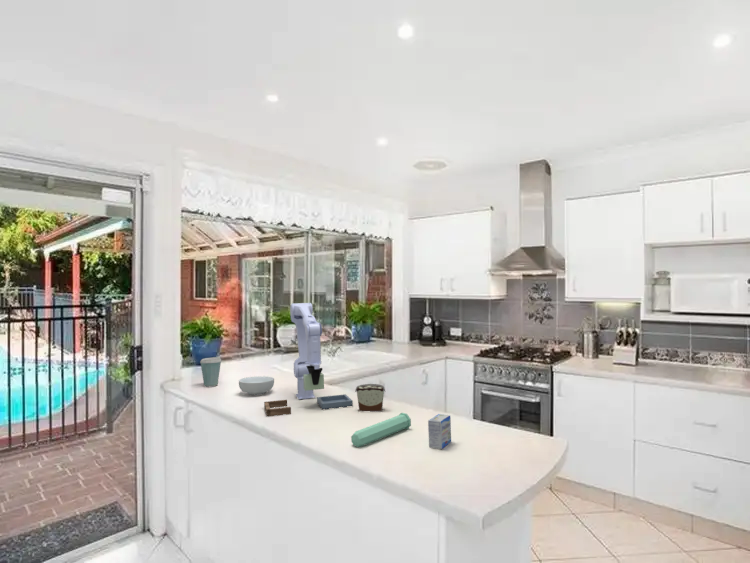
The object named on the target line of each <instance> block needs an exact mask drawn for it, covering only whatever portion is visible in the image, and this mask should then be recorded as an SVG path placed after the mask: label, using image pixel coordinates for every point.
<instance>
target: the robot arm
mask: <svg viewBox="0 0 750 563" xmlns="http://www.w3.org/2000/svg"><path fill="white" fill-rule="evenodd" d="M289 307H290V308H289V310H290V312H289V313H290V320H291V323H294V325H295V329H296V330H295V331H296V339H297V347H298V348H297V349H298V350H297V351H298V358H296V359H295V360H294V362H293V375H294V377H295V378H296V379H297V380H296V382H297V393H295V396H296V398H297V400H305V399H306V400H307V399H314V398H315V399H317V397H316V395H315V394H314V390H307V391H305V390H304V380H303V374H311V376H312V382H313V385H318V383H319V378H320V374H321V373H323V372H322V371H323V367H321V364H322V357H321V356H322V352H321V351H322V350H321V348H322V347H321V346H322V345H321V344H322V343H321V337H322V335H323V326H322V324H321V322H318V321H317V319H316V317H315V316H314V315H313V309H314V308H313V304H312V303H311V302H300V303H298V302H295V303H293V302H291V304H290V306H289Z"/></svg>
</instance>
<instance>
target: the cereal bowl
mask: <svg viewBox="0 0 750 563" xmlns="http://www.w3.org/2000/svg"><path fill="white" fill-rule="evenodd" d="M238 386H239V387H238V388H239V389H240V390H241V391H242V392H244V393H246V394H248V395H249V396H260V395H261V396H262V395H264V394H266V393H267V392H269V391H271V390H272V389H273V387H274V386H275V378H274V377H273V376H269V375H267V376H266V375H263V376H262V375H258V376H257V375H256V376H255V375H254V376H247V377H242V378H240V379H239V380H238Z"/></svg>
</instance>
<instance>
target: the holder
mask: <svg viewBox="0 0 750 563" xmlns="http://www.w3.org/2000/svg"><path fill="white" fill-rule="evenodd" d="M263 403H264V404H263V405H264V407H263V408H264V412H265V411H266V412H265V415H266V417H267V416H268V417H275V416H274V415H277V416H283V414H286V415H291V414H292V407H291V406H288V399H281V400H280V399H279V400H269V401H264V402H263ZM284 406H285V407H284ZM274 407H275V408H274Z"/></svg>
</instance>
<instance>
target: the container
mask: <svg viewBox="0 0 750 563" xmlns="http://www.w3.org/2000/svg"><path fill="white" fill-rule="evenodd" d="M411 426H412V418H411V417H410V416H409V415H408V413H405V412H401V413H399V414H398V415H396V416H394V417H391V418H388V419H385V420H382V421H380V422H377V423H374V424H372V425H369V426H366V427H364V428H361V429H359V430H356V431H355V432H354V433H352V435H351V436H350V438H351V443H352V445H353V446H354V447H357V448H361V447H364V446H366V445H369V444H371V443H374V442H375V441H378V440H381V439H383V438H387V437H389V436H391V435H394V434H395V433H398V432H400V431H403V430H408V429H410V427H411Z"/></svg>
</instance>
